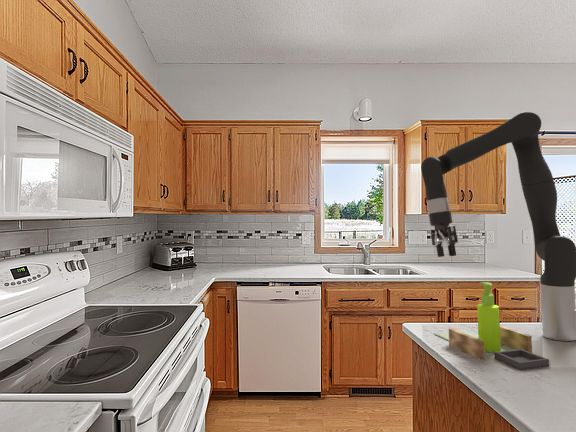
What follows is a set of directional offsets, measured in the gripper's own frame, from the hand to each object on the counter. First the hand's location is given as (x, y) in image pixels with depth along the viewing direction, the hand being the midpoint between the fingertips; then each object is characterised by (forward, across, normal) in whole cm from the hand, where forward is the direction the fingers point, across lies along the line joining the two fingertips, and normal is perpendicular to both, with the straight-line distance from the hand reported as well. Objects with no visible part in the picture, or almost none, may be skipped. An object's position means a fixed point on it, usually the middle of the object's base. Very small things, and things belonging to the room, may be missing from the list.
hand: (446, 256), depth 138 cm
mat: (+27, -5, +2) cm, 28 cm away
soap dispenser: (+29, -18, +1) cm, 34 cm away
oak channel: (+28, -18, +1) cm, 34 cm away
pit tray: (+30, -30, -1) cm, 42 cm away
